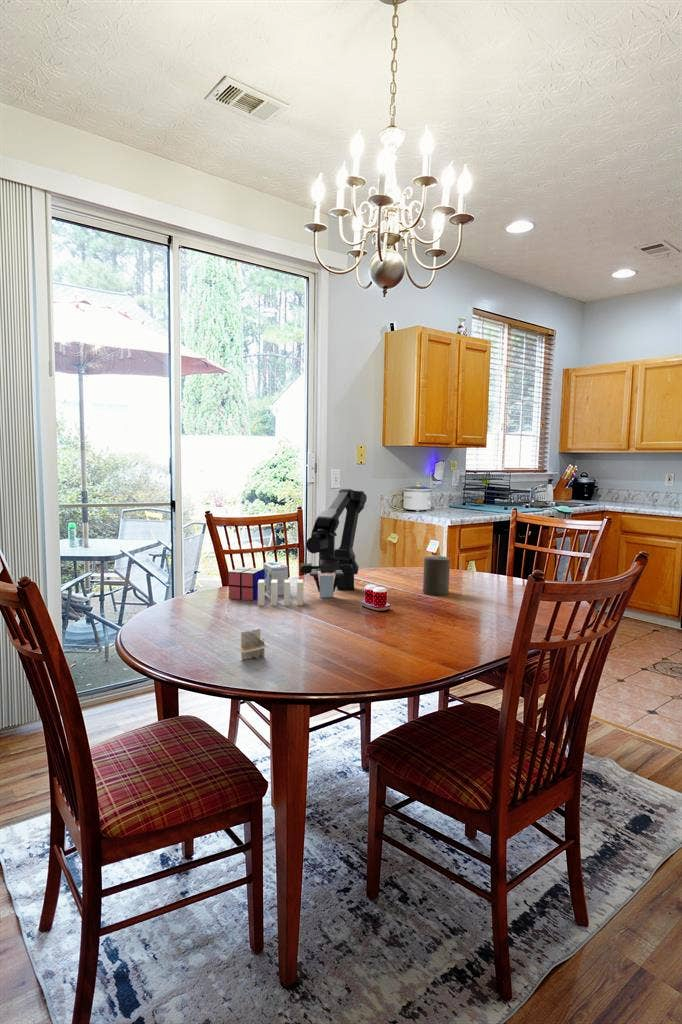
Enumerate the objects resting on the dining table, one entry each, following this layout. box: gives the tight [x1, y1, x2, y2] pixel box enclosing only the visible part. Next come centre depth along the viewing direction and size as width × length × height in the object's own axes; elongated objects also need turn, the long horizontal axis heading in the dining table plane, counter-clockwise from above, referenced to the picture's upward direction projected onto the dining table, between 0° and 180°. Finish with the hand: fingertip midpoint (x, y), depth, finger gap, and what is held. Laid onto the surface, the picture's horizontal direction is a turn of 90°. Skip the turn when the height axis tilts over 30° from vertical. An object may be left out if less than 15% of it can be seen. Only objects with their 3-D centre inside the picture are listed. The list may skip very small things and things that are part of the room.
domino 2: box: [270, 580, 279, 606], centre depth 204 cm, size 2×5×8 cm, turn 3°
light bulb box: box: [262, 561, 289, 596], centre depth 220 cm, size 11×7×11 cm, turn 25°
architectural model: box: [237, 628, 268, 660], centre depth 147 cm, size 3×7×7 cm, turn 130°
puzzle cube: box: [228, 566, 265, 602], centre depth 213 cm, size 10×10×10 cm
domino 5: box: [319, 574, 335, 599], centre depth 214 cm, size 2×5×8 cm, turn 93°
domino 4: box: [296, 579, 304, 606], centre depth 204 cm, size 2×5×8 cm, turn 3°
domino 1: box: [257, 580, 266, 606], centre depth 204 cm, size 2×5×8 cm, turn 3°
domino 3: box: [283, 579, 291, 606], centre depth 204 cm, size 2×5×8 cm, turn 3°
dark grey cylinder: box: [422, 554, 451, 597], centre depth 222 cm, size 10×10×15 cm
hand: (326, 591), depth 214 cm, fingers closed on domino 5, 5 cm apart
